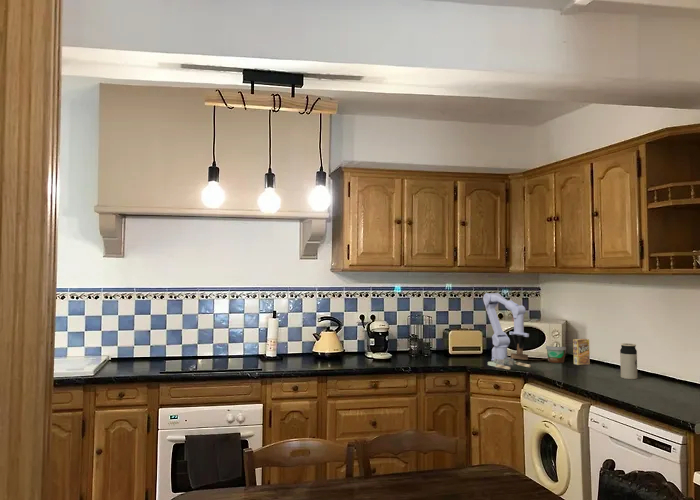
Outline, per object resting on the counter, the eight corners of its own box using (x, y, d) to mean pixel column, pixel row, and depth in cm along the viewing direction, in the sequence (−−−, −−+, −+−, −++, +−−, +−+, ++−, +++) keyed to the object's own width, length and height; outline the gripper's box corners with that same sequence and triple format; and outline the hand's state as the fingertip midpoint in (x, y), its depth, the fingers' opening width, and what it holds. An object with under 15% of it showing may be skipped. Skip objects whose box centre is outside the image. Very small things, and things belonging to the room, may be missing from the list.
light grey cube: (494, 365, 341) (494, 358, 342) (499, 364, 343) (499, 358, 343) (498, 366, 338) (498, 359, 338) (503, 365, 340) (503, 359, 340)
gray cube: (504, 364, 345) (503, 357, 345) (508, 363, 347) (508, 357, 347) (508, 365, 342) (508, 358, 342) (513, 364, 343) (513, 358, 344)
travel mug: (617, 377, 300) (617, 344, 301) (625, 376, 305) (624, 342, 306) (632, 380, 294) (631, 345, 294) (640, 378, 299) (639, 344, 299)
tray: (487, 365, 342) (487, 361, 342) (508, 362, 350) (508, 359, 350) (495, 366, 336) (495, 363, 336) (517, 364, 344) (516, 361, 344)
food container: (544, 362, 351) (544, 346, 351) (546, 360, 356) (545, 345, 357) (565, 363, 345) (565, 347, 346) (566, 362, 351) (566, 346, 351)
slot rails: (495, 366, 336) (495, 364, 336) (517, 364, 344) (516, 361, 344) (509, 369, 326) (509, 367, 326) (530, 367, 334) (530, 364, 334)
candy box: (578, 365, 340) (577, 339, 340) (573, 364, 344) (572, 339, 344) (590, 364, 342) (589, 339, 343) (585, 363, 346) (584, 338, 347)
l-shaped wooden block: (510, 358, 340) (511, 343, 341) (525, 359, 346) (526, 344, 347) (513, 358, 338) (514, 343, 339) (528, 359, 344) (529, 344, 344)
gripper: (505, 324, 347) (505, 346, 347) (522, 326, 334) (522, 349, 334) (514, 324, 351) (514, 346, 350) (531, 326, 338) (531, 348, 337)
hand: (519, 347), depth 342 cm, fingers closed on l-shaped wooden block, 2 cm apart
